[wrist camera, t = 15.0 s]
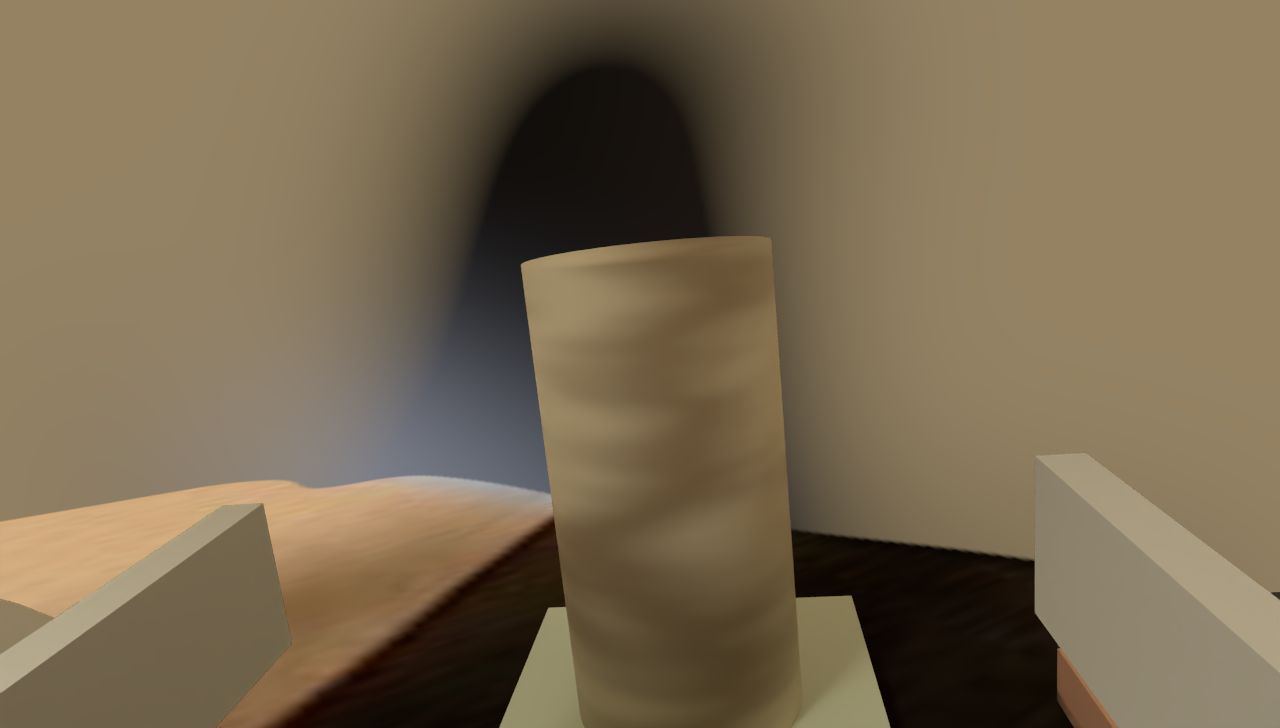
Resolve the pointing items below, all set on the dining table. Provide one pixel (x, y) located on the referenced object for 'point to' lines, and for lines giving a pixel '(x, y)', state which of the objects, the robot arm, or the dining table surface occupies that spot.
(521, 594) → the dining table surface
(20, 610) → the flower in vase
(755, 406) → the birch canister
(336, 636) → the dining table surface
